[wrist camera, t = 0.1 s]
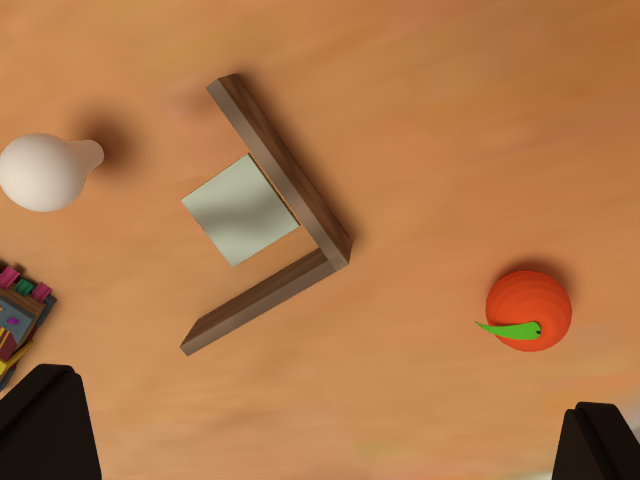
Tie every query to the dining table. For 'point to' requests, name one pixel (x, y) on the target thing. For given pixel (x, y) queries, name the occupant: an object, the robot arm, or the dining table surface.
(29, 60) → the dining table surface
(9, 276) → the decorative book
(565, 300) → the clementine
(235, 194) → the corner fence
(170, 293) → the dining table surface
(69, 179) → the lightbulb
